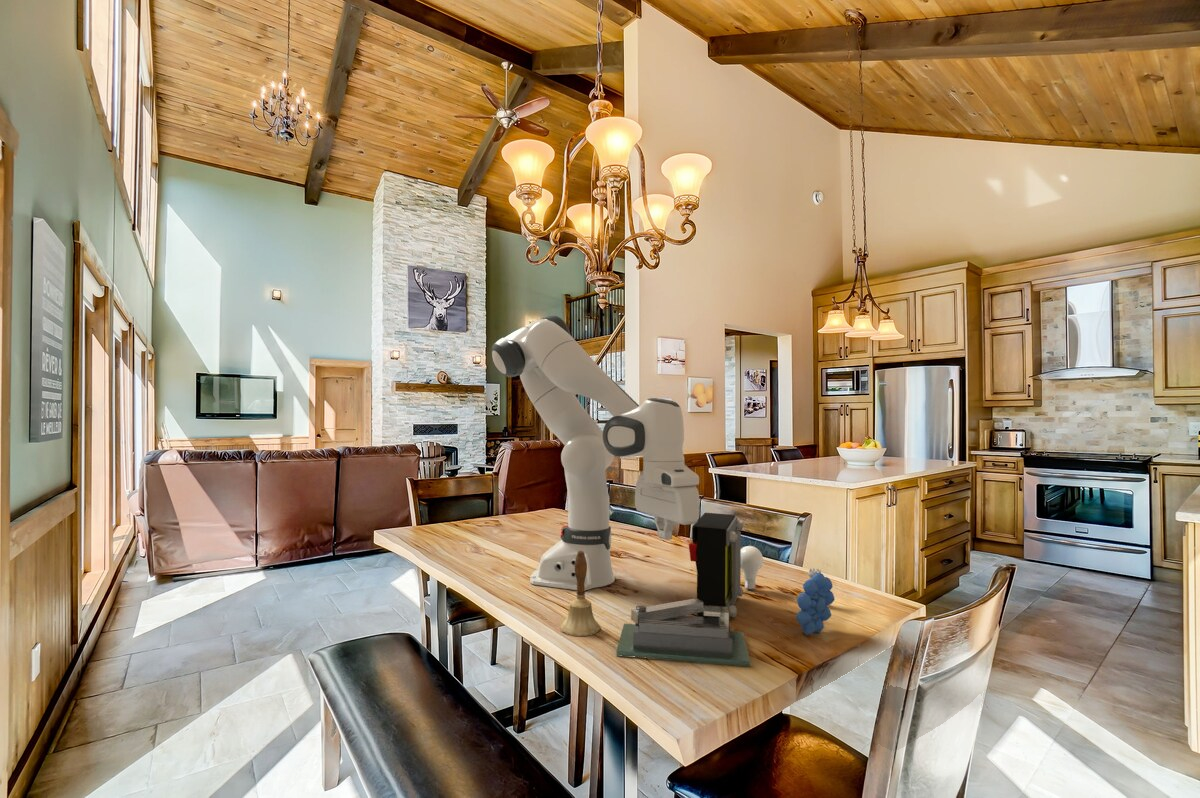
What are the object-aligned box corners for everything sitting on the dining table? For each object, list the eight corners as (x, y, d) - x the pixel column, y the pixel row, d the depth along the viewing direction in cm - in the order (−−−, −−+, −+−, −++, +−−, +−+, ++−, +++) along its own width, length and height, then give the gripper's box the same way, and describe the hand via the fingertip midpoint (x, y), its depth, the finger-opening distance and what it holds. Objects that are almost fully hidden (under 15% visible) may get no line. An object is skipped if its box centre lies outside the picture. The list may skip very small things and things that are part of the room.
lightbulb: (760, 586, 142) (760, 543, 142) (765, 594, 135) (765, 549, 136) (735, 585, 142) (735, 542, 142) (739, 593, 136) (739, 548, 136)
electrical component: (735, 623, 116) (736, 530, 117) (688, 617, 120) (688, 526, 120) (743, 597, 133) (743, 515, 133) (701, 592, 136) (702, 512, 137)
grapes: (812, 619, 119) (812, 564, 119) (841, 629, 114) (842, 572, 114) (780, 632, 112) (780, 573, 112) (810, 643, 107) (810, 582, 107)
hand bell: (603, 635, 110) (604, 555, 110) (563, 638, 108) (564, 557, 108) (595, 619, 118) (596, 545, 118) (557, 622, 116) (558, 547, 117)
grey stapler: (616, 656, 100) (616, 615, 100) (624, 628, 113) (624, 592, 113) (750, 666, 97) (750, 624, 97) (742, 636, 109) (742, 599, 110)
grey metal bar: (637, 624, 104) (637, 610, 104) (631, 619, 107) (631, 606, 107) (703, 611, 111) (703, 599, 111) (695, 607, 113) (695, 595, 113)
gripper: (627, 470, 125) (628, 530, 124) (678, 479, 106) (679, 550, 106) (651, 468, 127) (652, 528, 127) (704, 477, 109) (705, 546, 109)
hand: (664, 538), depth 116 cm, fingers closed
